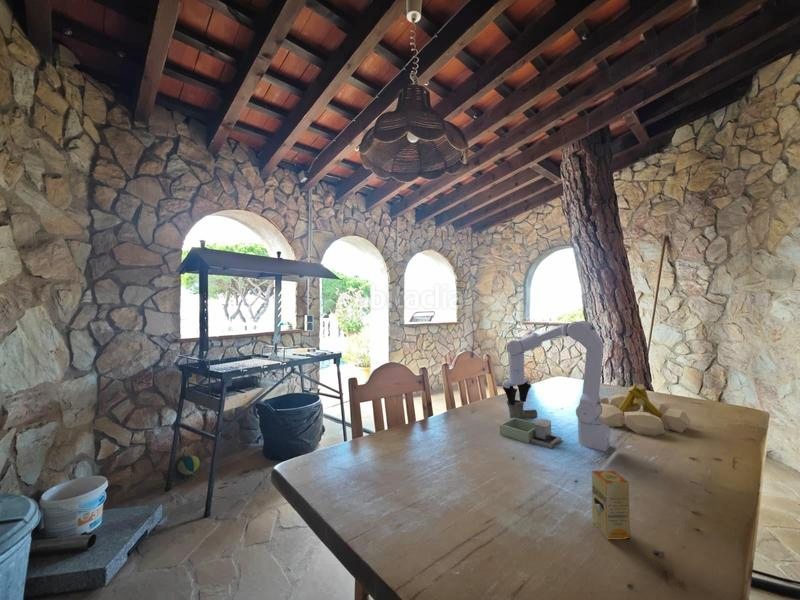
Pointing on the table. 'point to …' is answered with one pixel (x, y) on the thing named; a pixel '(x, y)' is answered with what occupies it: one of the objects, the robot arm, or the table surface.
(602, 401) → the campfire
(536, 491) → the table surface
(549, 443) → the socket block
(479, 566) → the table surface
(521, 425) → the bin
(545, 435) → the grey plug block
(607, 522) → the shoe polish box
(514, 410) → the pipe
